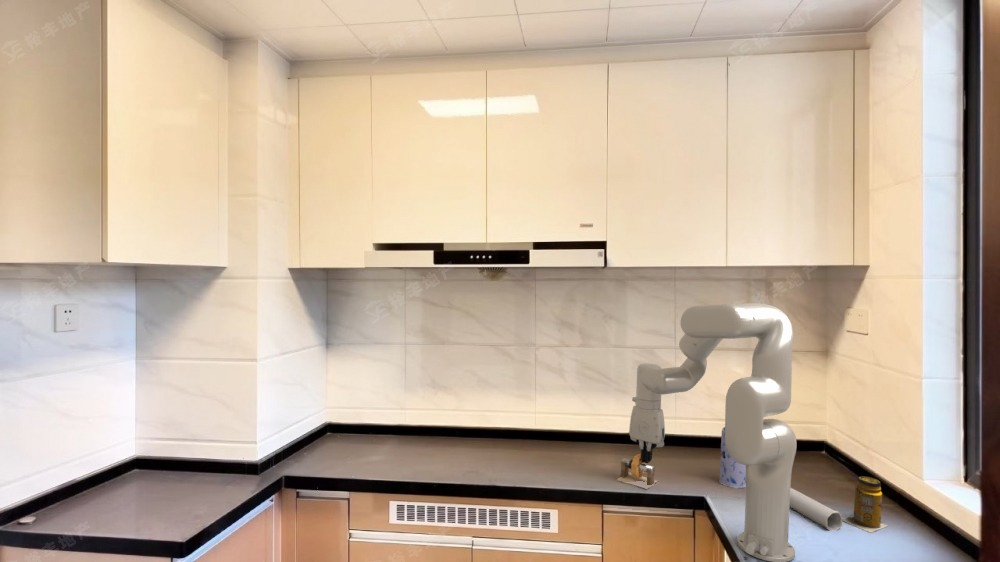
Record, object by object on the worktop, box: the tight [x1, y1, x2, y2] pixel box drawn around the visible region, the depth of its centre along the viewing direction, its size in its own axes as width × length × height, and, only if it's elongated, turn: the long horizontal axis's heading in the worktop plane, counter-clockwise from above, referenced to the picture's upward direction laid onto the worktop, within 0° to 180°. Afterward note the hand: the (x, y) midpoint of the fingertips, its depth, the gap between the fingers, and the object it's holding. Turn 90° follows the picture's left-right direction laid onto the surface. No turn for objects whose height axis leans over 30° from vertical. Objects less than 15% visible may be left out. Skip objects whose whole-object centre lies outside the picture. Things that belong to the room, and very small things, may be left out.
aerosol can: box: [718, 426, 747, 489], centre depth 167 cm, size 8×8×20 cm
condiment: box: [842, 476, 889, 534], centre depth 142 cm, size 7×8×12 cm
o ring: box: [630, 453, 646, 478], centre depth 166 cm, size 7×2×7 cm, turn 140°
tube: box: [789, 487, 843, 532], centre depth 150 cm, size 5×5×25 cm
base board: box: [616, 460, 658, 485], centre depth 166 cm, size 8×10×6 cm
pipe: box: [621, 457, 655, 474], centre depth 166 cm, size 3×10×3 cm, turn 50°
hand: (646, 461), depth 164 cm, fingers closed
